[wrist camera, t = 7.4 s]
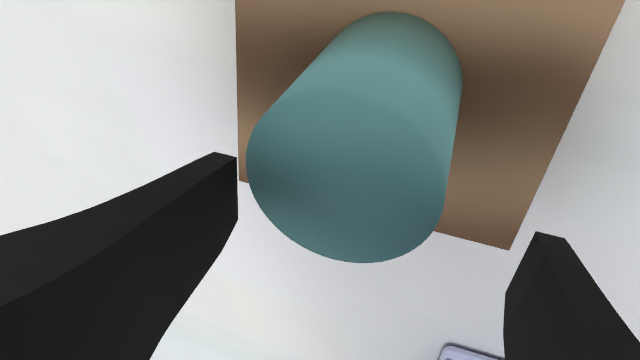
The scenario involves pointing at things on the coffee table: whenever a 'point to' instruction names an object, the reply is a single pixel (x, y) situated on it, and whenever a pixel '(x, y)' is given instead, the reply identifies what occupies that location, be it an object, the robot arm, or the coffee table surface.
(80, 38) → the coffee table surface
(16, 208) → the coffee table surface
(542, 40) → the walnut block
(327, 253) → the teal tin
